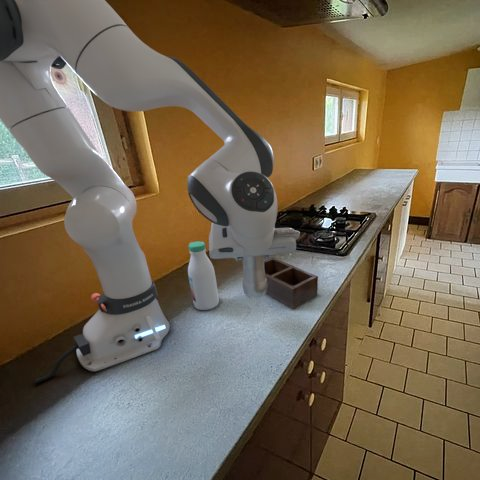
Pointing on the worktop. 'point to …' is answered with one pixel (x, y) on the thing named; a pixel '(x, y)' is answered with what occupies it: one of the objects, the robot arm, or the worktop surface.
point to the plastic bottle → (254, 276)
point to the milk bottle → (202, 278)
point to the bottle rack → (289, 283)
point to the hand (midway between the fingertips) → (252, 256)
